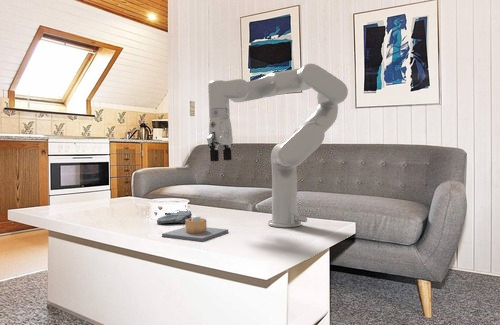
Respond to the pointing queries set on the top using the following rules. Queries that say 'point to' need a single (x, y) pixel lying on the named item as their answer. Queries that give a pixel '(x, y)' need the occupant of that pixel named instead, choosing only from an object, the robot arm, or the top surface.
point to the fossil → (175, 217)
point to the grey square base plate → (196, 237)
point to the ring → (195, 226)
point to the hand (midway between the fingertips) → (221, 160)
